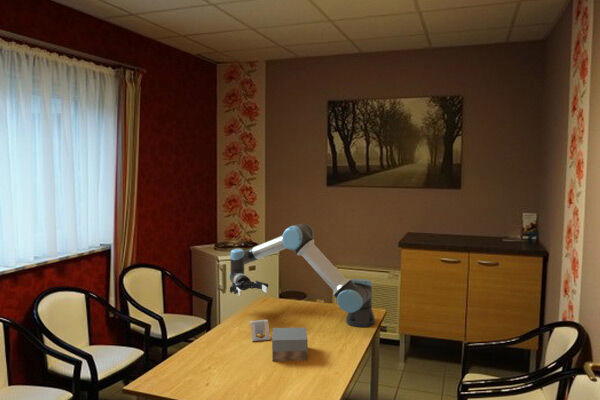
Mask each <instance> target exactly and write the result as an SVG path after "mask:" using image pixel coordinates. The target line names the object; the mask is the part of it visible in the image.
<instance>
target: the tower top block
mask: <svg viewBox="0 0 600 400" xmlns="http://www.w3.org/2000/svg"><path fill="white" fill-rule="evenodd" d="M271 337H272V339H271V342H272V343H271V348H272V349H271V350H272V351H271V352H281V351H308V350H309V349H308V348H309V347H308V344H309V343H308V342H309V341H308V333H307V327H273V328H272V336H271ZM308 352H309V351H308Z"/></svg>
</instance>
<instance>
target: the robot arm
mask: <svg viewBox="0 0 600 400" xmlns="http://www.w3.org/2000/svg"><path fill="white" fill-rule="evenodd" d="M314 235H315V234H314V230H313V228H312V227H311V226H310V225H309V224H306V223H299V224H295V225H291V226H289V227H287V228H286V229H285V230H283V233H282V234H281V235H279V236H278V237H275V238H272V239H271V240H268V241H265V242H263V243H260V244H257V245H255V246H253V247H251V248H248V249H245V250H244V249H242V248H234V249H231V250H230V272H229V274H228V279H229V280H230V282H231V283H232V285H230V287H229V293H233V294H234V295H236V294H237V295H238V296H239V297H242V291H247V290H249V289H251V290H253V289H259V290H262V291H263V292H264V293H266V294H268V289H269V283H266V282H262V281H258V280H254V281H251V279H250V277H249V276H247V275H246V274H245V265H247V264H250V263H252V262H255V261H258V260H259V259H262V258H265V257H268V256H271V255H273V254H276V253H279V252H281V251H284V250H286V249H288V250H290V251H293V252H294V254H295V255H297V256H301V257H303V258H304V260H305V261H306V262H307V263H308V264H309V265H310V266H311V268H312V269H313V270H314V271H315V272H316V273H317V274H318V275H319V276H320V277H321V279H322V280H323V281H324V282H325V283H326V284H327V285H328V286H329V288H330V289H331V290H332V291H333V293H332V295H333V297H335V299H336V302H337V305H338V307H339V308H340V310H341V311H342V312H345V313H347V314H346V317H345V322H346V325H349V326H351V327H356V328H357V327H358V328H368V327H372V326H374V325H375V324H376V317H375V315H374V312H373V306H372V305H373V302H372V301H373V300H372V299H373V296H372V295H373V284H372V283H373V282H372V281H371V280H370V279H365V278H351V279H348V278H346V277H345V276H344V275H343V274H342V273H341V272H340V271H339V270H338V269H337V268H336V267H335V266H334V264H333V263H332V262H331V261H330V260H329V259H328V258H327V257H326V256H325V255H324V254H323V252H322V251H321V250H320V249H319V248H318V247H317V246H316V245H315V239H314Z"/></svg>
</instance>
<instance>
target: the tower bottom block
mask: <svg viewBox="0 0 600 400" xmlns="http://www.w3.org/2000/svg"><path fill="white" fill-rule="evenodd" d="M271 352H272V351H271ZM308 352H309V351H281V352H272V362H299V361H300V362H301V361H305V362H306V361H308V359H309V357H308V356H309V355H308Z"/></svg>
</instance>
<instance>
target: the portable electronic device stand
mask: <svg viewBox="0 0 600 400" xmlns="http://www.w3.org/2000/svg"><path fill="white" fill-rule="evenodd" d="M249 325H250V333H251V342H252V341H255V342H259V341H260V342H261V341H262V340H263V341H270V340H271V335H270V326H269V319H259V320H250V321H249ZM264 334H265V336H264ZM256 335H260V336H263V337H259V336H256Z"/></svg>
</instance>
